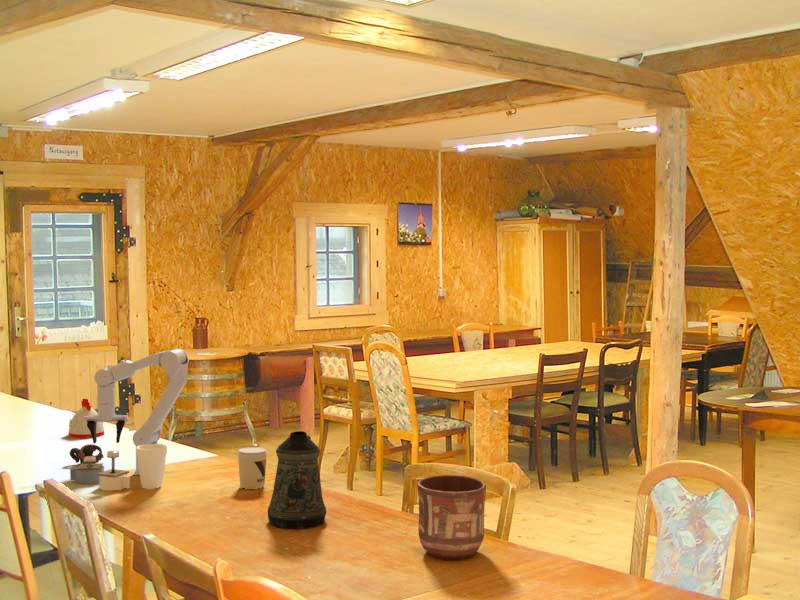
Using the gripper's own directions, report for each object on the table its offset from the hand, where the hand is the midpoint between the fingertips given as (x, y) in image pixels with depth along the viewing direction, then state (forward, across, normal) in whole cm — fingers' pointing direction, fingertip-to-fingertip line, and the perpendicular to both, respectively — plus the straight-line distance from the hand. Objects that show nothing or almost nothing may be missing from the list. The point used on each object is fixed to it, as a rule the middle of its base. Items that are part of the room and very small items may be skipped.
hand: (106, 442), depth 327 cm
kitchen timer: (+10, +19, -67) cm, 70 cm away
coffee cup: (+10, -50, +27) cm, 58 cm away
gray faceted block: (+10, +3, +14) cm, 17 cm away
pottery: (+10, -101, +101) cm, 143 cm away
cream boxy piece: (+10, -6, +24) cm, 27 cm away
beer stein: (+10, -63, +67) cm, 93 cm away
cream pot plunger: (+5, -6, +24) cm, 25 cm away
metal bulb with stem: (+9, +3, +14) cm, 17 cm away
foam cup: (+10, -18, +24) cm, 32 cm away
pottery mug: (+10, +9, -11) cm, 17 cm away
